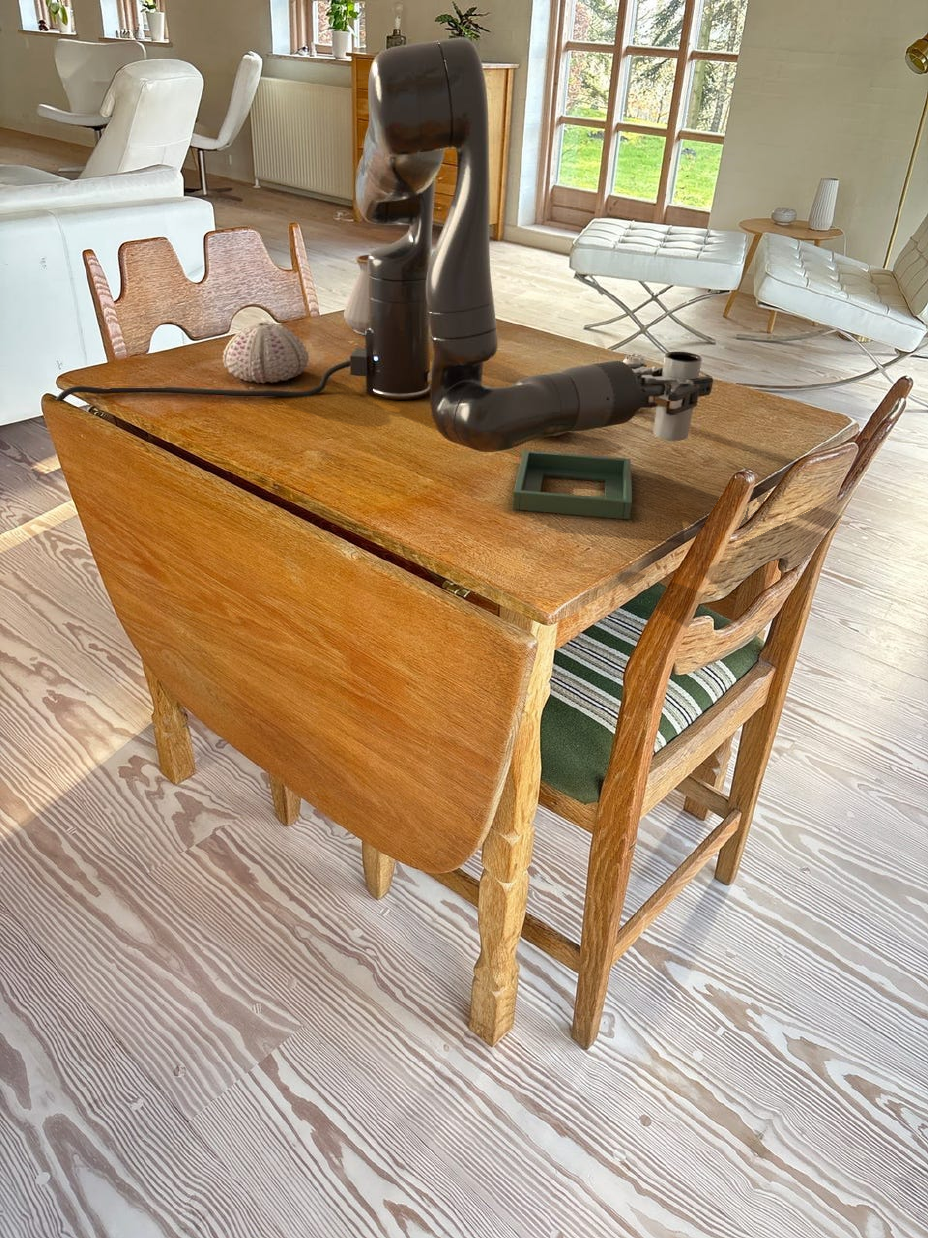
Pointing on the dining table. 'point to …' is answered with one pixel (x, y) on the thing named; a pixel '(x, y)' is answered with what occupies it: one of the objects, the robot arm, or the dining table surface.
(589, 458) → the green square frame
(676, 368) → the white hollow cylinder
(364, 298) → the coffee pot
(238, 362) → the sea urchin shell
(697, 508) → the dining table surface
